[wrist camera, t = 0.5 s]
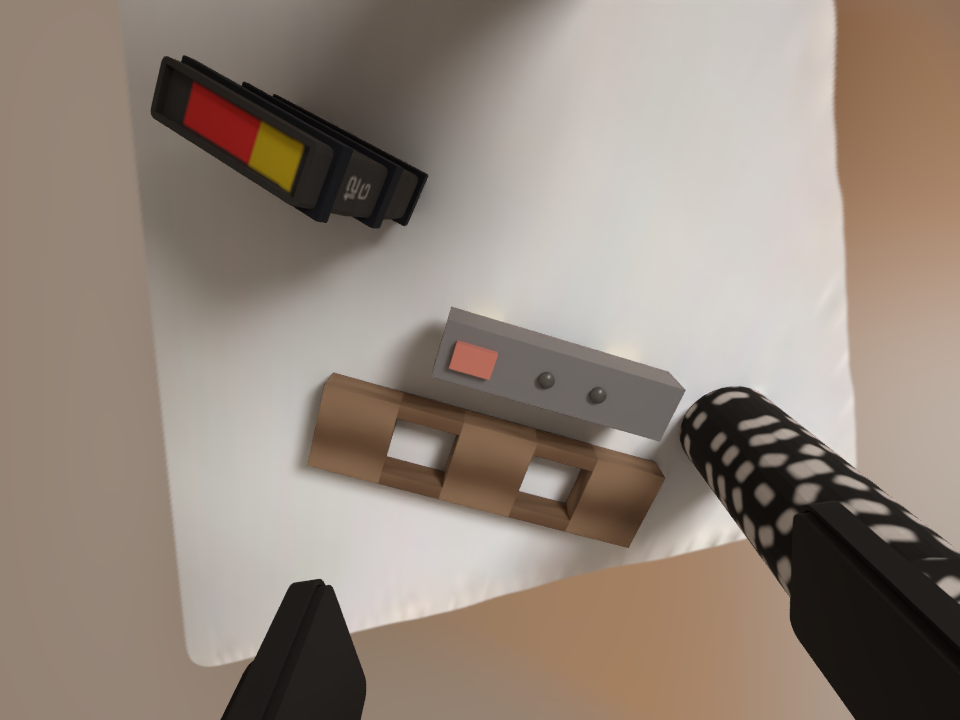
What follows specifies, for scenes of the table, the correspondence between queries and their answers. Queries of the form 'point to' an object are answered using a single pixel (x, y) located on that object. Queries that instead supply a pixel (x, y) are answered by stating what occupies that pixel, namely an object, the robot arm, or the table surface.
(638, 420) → the grey control box
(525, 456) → the rail
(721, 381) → the table surface
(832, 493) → the spotted tube
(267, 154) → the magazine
